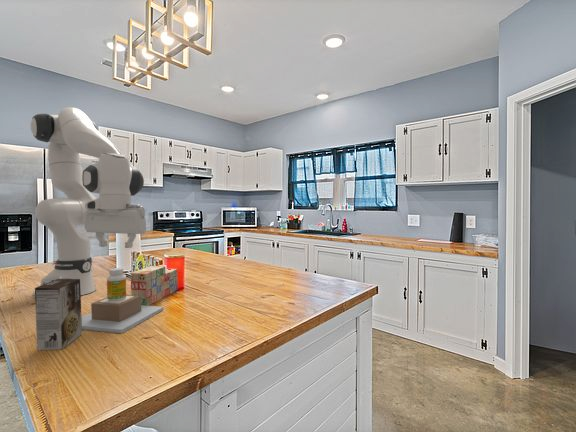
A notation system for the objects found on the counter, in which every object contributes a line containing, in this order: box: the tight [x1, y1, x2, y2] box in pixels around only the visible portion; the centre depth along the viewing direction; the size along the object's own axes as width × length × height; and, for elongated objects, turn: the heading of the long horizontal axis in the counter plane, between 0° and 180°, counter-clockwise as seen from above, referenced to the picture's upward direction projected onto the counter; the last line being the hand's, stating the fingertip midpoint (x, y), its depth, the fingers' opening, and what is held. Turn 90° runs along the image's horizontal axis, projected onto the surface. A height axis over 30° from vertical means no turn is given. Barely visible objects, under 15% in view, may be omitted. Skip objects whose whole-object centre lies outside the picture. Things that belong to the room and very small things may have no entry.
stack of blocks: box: [130, 265, 179, 306], centre depth 122 cm, size 21×6×12 cm, turn 170°
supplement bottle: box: [106, 267, 127, 301], centre depth 100 cm, size 5×5×10 cm
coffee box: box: [34, 279, 83, 351], centre depth 83 cm, size 9×6×16 cm
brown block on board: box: [81, 294, 165, 334], centre depth 100 cm, size 20×20×6 cm
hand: (115, 247), depth 100 cm, fingers open, 8 cm apart
